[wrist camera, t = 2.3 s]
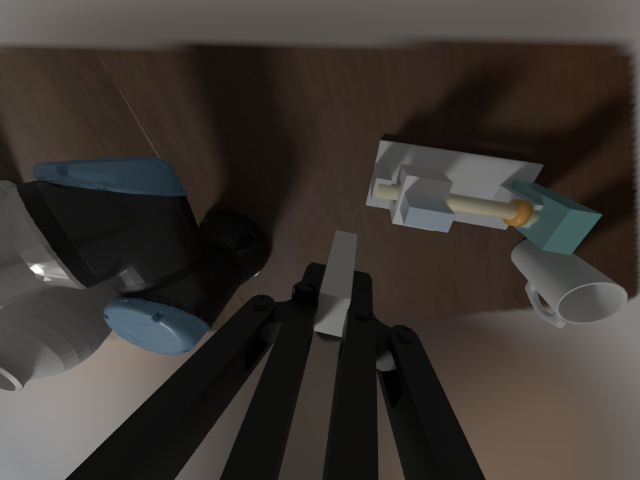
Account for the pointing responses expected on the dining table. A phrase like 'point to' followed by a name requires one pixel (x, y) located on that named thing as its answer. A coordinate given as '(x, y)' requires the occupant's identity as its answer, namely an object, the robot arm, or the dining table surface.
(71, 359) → the vase
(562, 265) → the mug
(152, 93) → the dining table surface
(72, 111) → the dining table surface
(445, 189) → the grey stepped block
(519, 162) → the grey vise fixture
